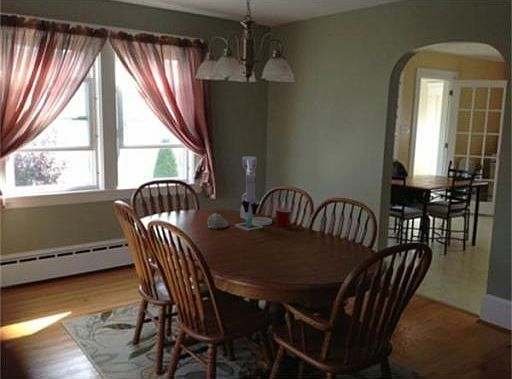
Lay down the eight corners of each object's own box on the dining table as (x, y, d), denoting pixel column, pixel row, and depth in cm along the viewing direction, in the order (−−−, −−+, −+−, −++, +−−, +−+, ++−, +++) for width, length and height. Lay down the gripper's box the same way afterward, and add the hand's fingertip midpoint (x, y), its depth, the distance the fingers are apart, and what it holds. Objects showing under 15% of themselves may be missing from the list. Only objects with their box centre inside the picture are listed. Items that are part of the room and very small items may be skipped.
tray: (234, 227, 304) (234, 224, 303) (248, 224, 312) (248, 222, 311) (248, 231, 293) (248, 228, 293) (262, 228, 301) (263, 226, 301)
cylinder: (244, 226, 303) (244, 217, 302) (249, 226, 305) (249, 217, 304) (248, 228, 300) (248, 218, 299) (253, 227, 302) (253, 218, 301)
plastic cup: (291, 229, 302) (292, 210, 300) (274, 228, 302) (275, 210, 300) (290, 225, 313) (291, 207, 311) (274, 224, 313) (274, 207, 311)
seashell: (230, 227, 305) (231, 211, 303) (214, 230, 295) (214, 214, 293) (218, 223, 313) (218, 209, 312) (202, 226, 303) (202, 211, 302)
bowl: (245, 223, 315) (245, 218, 315) (261, 220, 325) (261, 216, 324) (259, 227, 304) (260, 223, 304) (276, 224, 314) (276, 220, 314)
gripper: (238, 191, 303) (238, 212, 305) (253, 195, 292) (252, 216, 294) (246, 190, 307) (246, 210, 310) (261, 193, 297) (261, 214, 299)
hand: (250, 213), depth 302 cm, fingers open, 7 cm apart
